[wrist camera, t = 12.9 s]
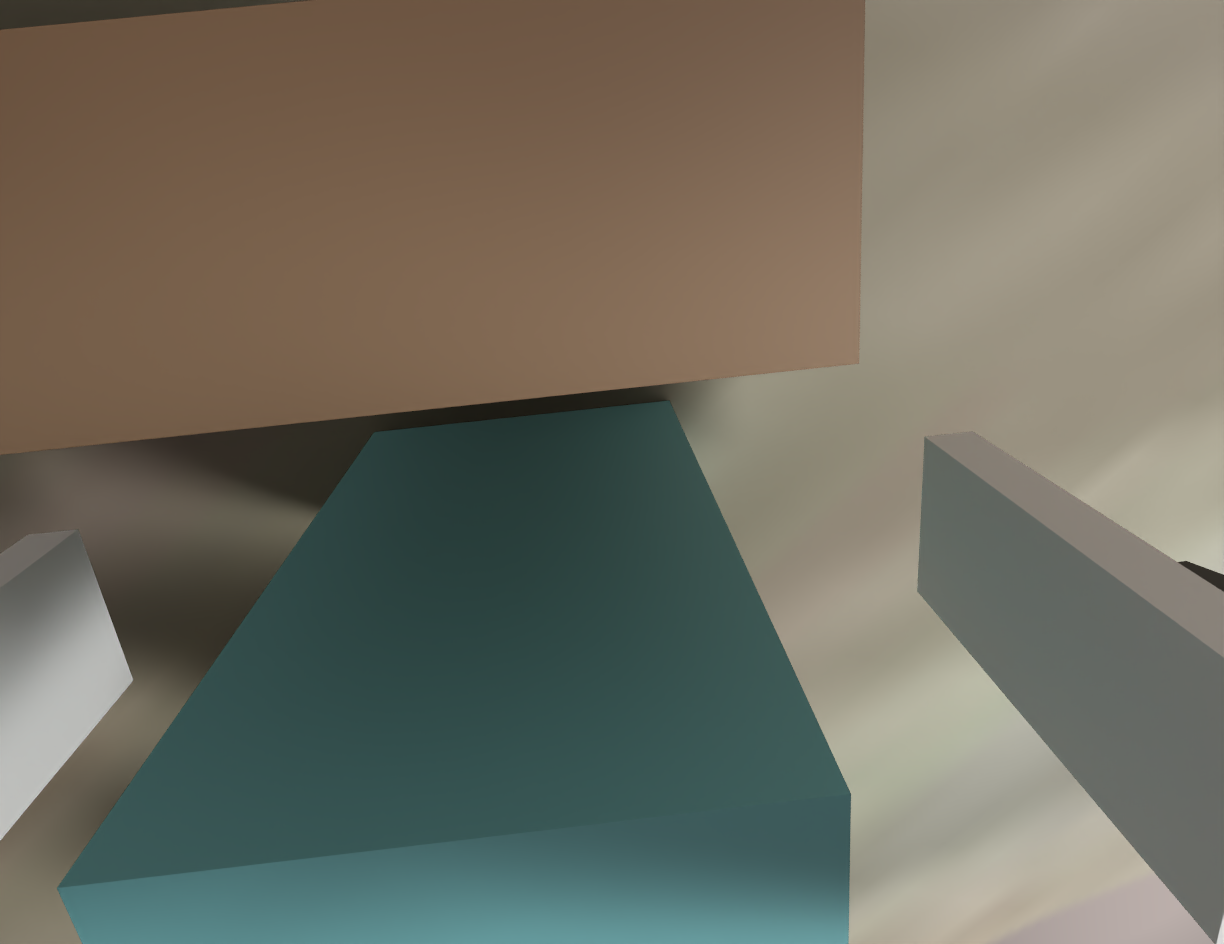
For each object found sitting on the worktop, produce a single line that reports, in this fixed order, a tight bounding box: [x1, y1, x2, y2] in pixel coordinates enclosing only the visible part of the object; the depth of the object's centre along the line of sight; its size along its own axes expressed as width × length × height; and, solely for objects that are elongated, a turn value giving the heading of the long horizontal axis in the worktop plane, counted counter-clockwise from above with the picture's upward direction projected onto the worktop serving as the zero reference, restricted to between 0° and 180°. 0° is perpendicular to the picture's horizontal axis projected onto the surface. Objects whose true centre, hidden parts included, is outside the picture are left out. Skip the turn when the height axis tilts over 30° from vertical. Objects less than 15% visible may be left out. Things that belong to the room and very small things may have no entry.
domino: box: [0, 0, 865, 455], centre depth 10 cm, size 2×6×11 cm, turn 95°
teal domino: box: [57, 401, 851, 944], centre depth 12 cm, size 2×6×11 cm, turn 95°
